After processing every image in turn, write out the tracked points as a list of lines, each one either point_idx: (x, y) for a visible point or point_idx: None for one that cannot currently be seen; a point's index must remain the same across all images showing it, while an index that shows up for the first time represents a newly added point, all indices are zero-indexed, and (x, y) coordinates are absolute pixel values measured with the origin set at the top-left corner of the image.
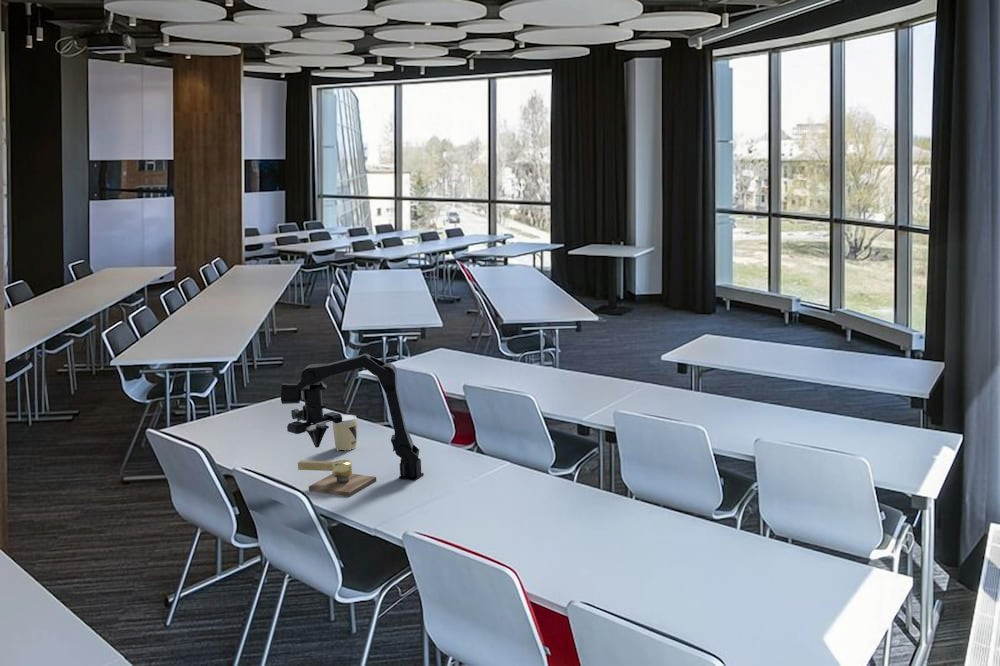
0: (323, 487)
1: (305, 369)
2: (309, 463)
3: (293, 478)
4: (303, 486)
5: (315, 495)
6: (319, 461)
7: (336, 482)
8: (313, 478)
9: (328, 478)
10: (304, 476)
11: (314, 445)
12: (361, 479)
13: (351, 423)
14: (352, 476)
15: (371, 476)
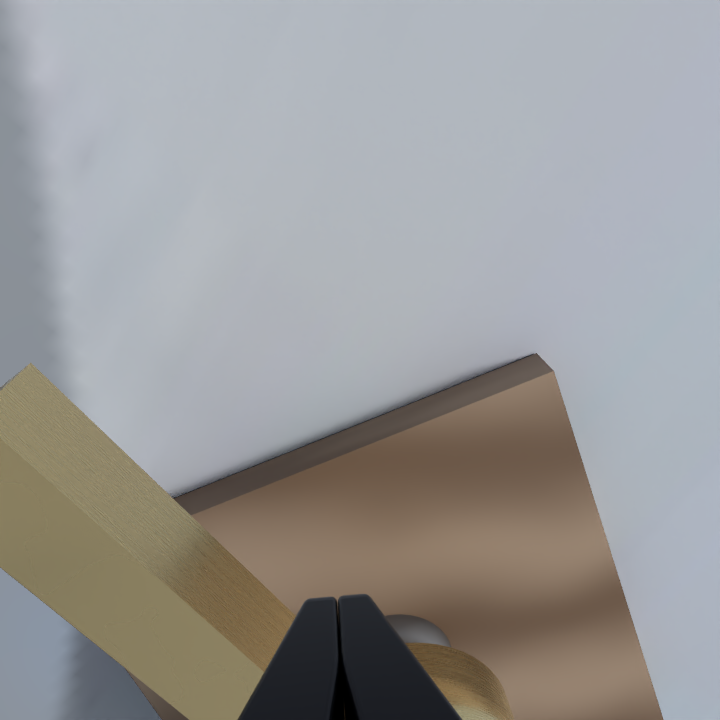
0: None
1: None
2: (71, 619)
3: (109, 29)
4: (83, 390)
5: (69, 667)
6: (237, 660)
7: None
8: (305, 235)
9: (349, 501)
10: (262, 74)
11: (291, 625)
12: (544, 713)
13: None
14: (549, 607)
15: (653, 707)
